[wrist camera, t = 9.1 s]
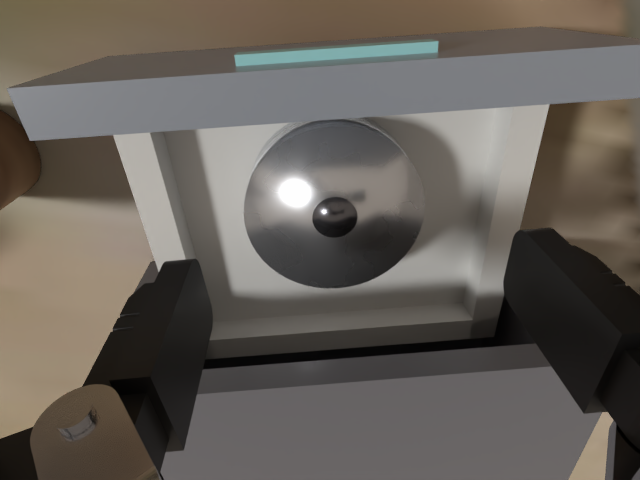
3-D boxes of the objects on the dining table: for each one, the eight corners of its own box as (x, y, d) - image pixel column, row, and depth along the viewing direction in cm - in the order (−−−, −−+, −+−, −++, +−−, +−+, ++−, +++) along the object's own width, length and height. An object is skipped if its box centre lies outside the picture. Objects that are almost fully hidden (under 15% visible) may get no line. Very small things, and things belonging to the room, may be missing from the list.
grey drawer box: (105, 48, 14) (1, 76, 9) (542, 18, 14) (673, 29, 9) (192, 329, 20) (159, 430, 16) (482, 306, 21) (538, 400, 16)
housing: (150, 261, 20) (72, 404, 13) (514, 234, 20) (628, 360, 13) (205, 423, 26) (173, 572, 20) (475, 401, 27) (537, 541, 20)
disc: (236, 117, 14) (228, 135, 12) (417, 105, 14) (433, 120, 12) (261, 265, 17) (257, 295, 16) (406, 254, 17) (418, 283, 16)
